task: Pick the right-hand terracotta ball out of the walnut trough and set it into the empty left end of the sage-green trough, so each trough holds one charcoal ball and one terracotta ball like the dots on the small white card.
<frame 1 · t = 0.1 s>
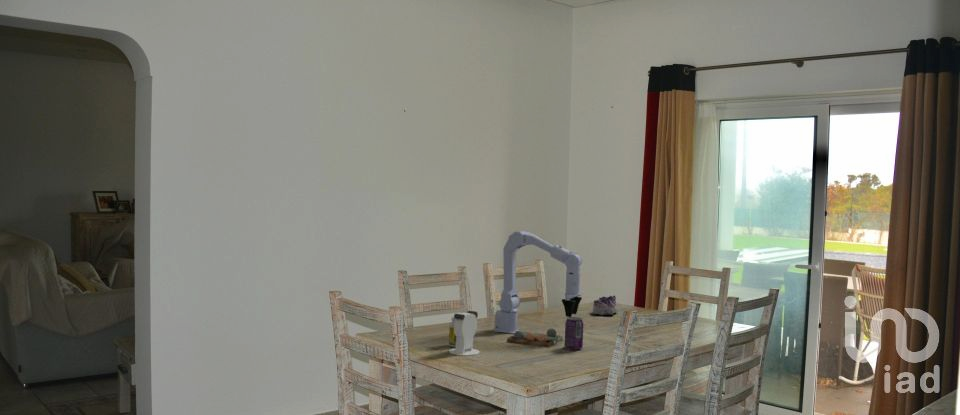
hand: (571, 315, 318), 10 cm above the table, fingers open, 7 cm apart
sage trough: (539, 337, 318), on the table
walnut trough: (530, 343, 307), on the table
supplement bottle: (456, 346, 297), on the table
geode: (605, 314, 386), on the table
terracotta ball 2: (542, 338, 305), point 2 cm above the table, touching walnut trough
terracotta ball 1: (530, 336, 307), point 2 cm above the table, touching walnut trough
grey ball b: (551, 333, 316), point 2 cm above the table, touching sage trough
grey ball a: (518, 335, 309), point 2 cm above the table, touching walnut trough
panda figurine: (464, 352, 287), on the table
beverage can: (573, 349, 300), on the table
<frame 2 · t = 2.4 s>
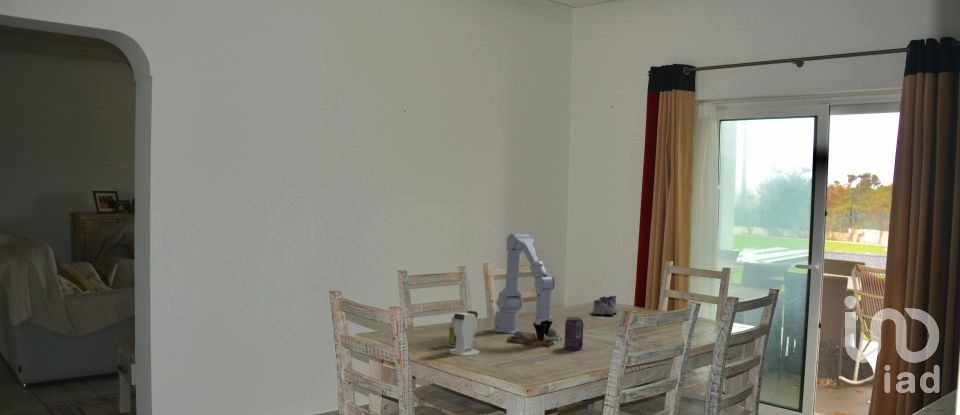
hand: (542, 339, 305), 2 cm above the table, fingers closed on terracotta ball 2, 4 cm apart
terracotta ball 2: (542, 338, 305), point 2 cm above the table, touching gripper, walnut trough
everything else where it was.
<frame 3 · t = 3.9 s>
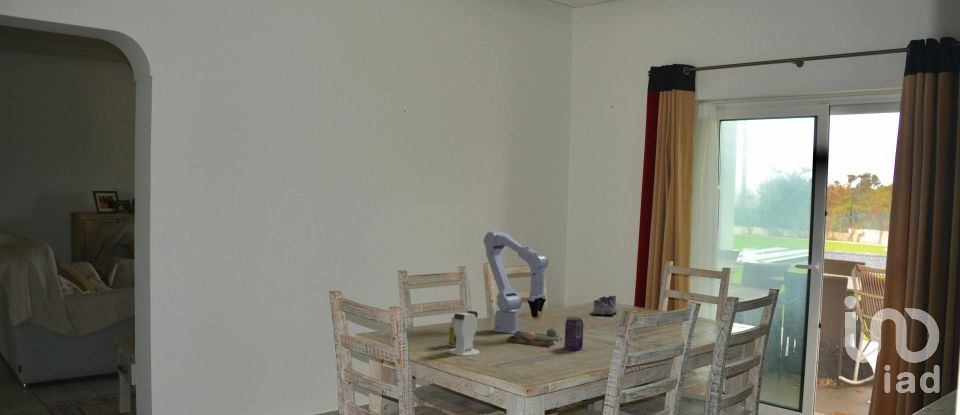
hand: (536, 316, 319), 9 cm above the table, fingers closed on terracotta ball 2, 4 cm apart
terracotta ball 2: (536, 314, 319), point 9 cm above the table, touching gripper
everything else where it was.
when the fingers open (3 cm above the table, at t = 5.4 s): terracotta ball 2 drops 1 cm, resting on sage trough.
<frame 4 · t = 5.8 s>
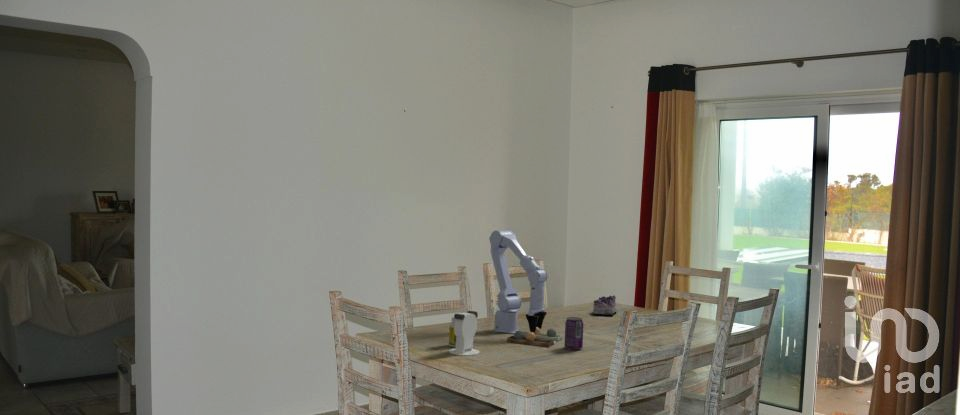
hand: (535, 330, 319), 3 cm above the table, fingers open, 7 cm apart
terracotta ball 2: (535, 331, 319), point 2 cm above the table, touching sage trough
everything else where it was.
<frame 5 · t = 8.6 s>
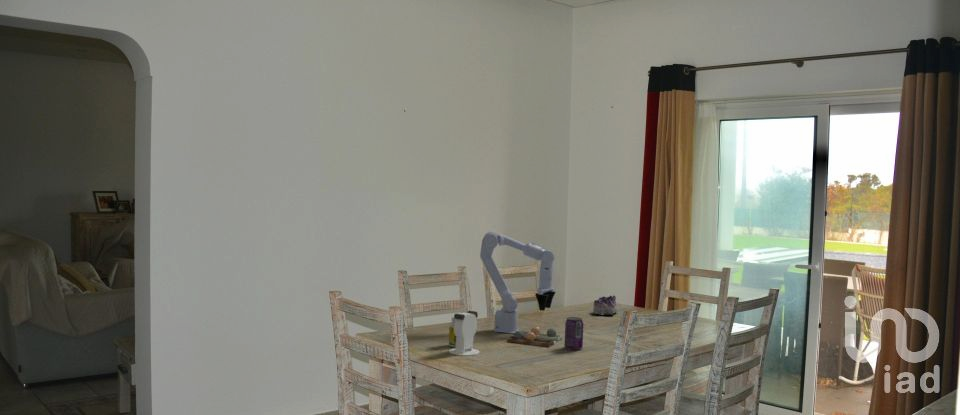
hand: (544, 309, 329), 10 cm above the table, fingers open, 7 cm apart
nothing on the table moved.
at the end: terracotta ball 2 inside the target area (0.4 cm from its centre), point 2.5 cm above the table; terracotta ball 1 inside the target area (0.0 cm from its centre), point 2.5 cm above the table; the gripper is holding nothing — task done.
